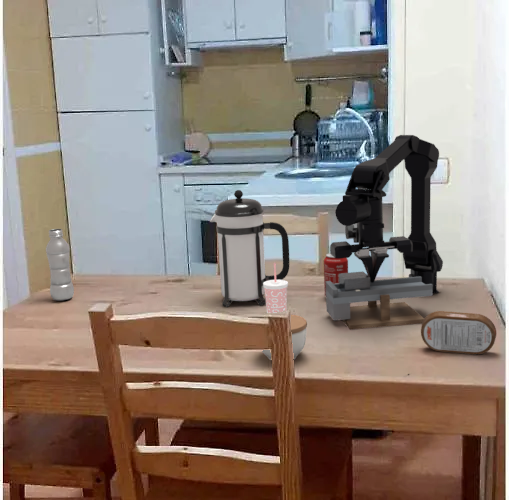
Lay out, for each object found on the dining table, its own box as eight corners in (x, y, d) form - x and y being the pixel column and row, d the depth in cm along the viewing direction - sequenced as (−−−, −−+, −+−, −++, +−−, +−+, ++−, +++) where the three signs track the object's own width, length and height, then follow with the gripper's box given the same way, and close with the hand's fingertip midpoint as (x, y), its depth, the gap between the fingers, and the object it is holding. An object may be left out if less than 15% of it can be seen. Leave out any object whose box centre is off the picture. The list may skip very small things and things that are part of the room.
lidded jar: (269, 370, 142) (267, 325, 140) (248, 353, 151) (246, 311, 149) (316, 360, 146) (315, 317, 144) (293, 344, 156) (292, 303, 153)
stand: (404, 305, 179) (404, 279, 177) (424, 323, 165) (424, 294, 164) (335, 311, 177) (334, 284, 175) (349, 329, 163) (349, 300, 162)
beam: (419, 301, 176) (419, 272, 175) (433, 312, 168) (433, 281, 166) (325, 310, 174) (325, 280, 172) (334, 321, 165) (333, 290, 164)
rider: (363, 287, 172) (363, 271, 171) (370, 293, 166) (369, 277, 166) (339, 289, 171) (339, 273, 170) (345, 295, 166) (344, 279, 165)
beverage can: (348, 294, 191) (347, 251, 188) (348, 301, 184) (348, 257, 182) (324, 295, 191) (323, 252, 189) (324, 302, 185) (323, 257, 183)
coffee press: (243, 313, 179) (237, 196, 172) (205, 301, 191) (198, 191, 184) (292, 298, 190) (288, 187, 183) (253, 288, 202) (248, 183, 195)
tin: (495, 352, 146) (497, 313, 144) (495, 357, 143) (496, 318, 141) (421, 346, 151) (421, 308, 149) (419, 351, 148) (419, 313, 146)
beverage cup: (261, 320, 172) (258, 265, 169) (269, 313, 178) (266, 259, 175) (285, 322, 170) (282, 266, 167) (292, 314, 176) (290, 260, 173)
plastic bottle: (46, 302, 197) (37, 232, 193) (61, 295, 203) (53, 227, 199) (65, 303, 195) (57, 232, 190) (79, 297, 201) (72, 228, 196)
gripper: (397, 209, 174) (398, 270, 178) (323, 215, 172) (326, 277, 176) (413, 217, 164) (413, 281, 167) (334, 223, 161) (336, 289, 165)
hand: (371, 282), depth 169 cm, fingers closed
